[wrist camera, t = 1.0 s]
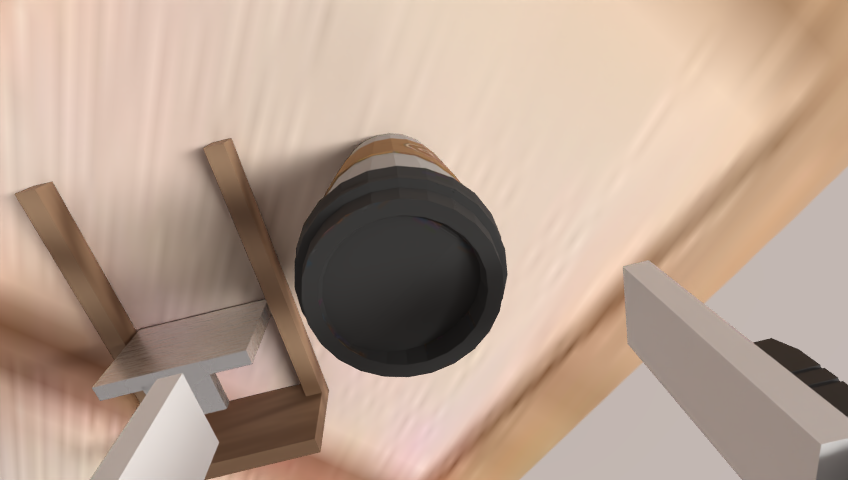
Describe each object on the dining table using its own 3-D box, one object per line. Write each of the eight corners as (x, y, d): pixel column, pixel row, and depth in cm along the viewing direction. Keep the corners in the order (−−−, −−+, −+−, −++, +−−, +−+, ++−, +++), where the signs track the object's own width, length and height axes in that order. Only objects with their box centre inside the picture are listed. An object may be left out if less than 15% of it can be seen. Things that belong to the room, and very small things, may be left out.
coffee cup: (481, 177, 31) (564, 284, 17) (396, 263, 33) (410, 422, 19) (387, 86, 28) (396, 128, 15) (299, 185, 30) (235, 306, 16)
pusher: (139, 329, 33) (91, 387, 27) (267, 298, 33) (246, 350, 27) (162, 371, 34) (121, 434, 29) (285, 341, 34) (268, 398, 29)
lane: (33, 186, 29) (-49, 220, 23) (231, 138, 29) (196, 161, 23) (173, 427, 37) (137, 496, 31) (328, 390, 37) (320, 452, 31)
